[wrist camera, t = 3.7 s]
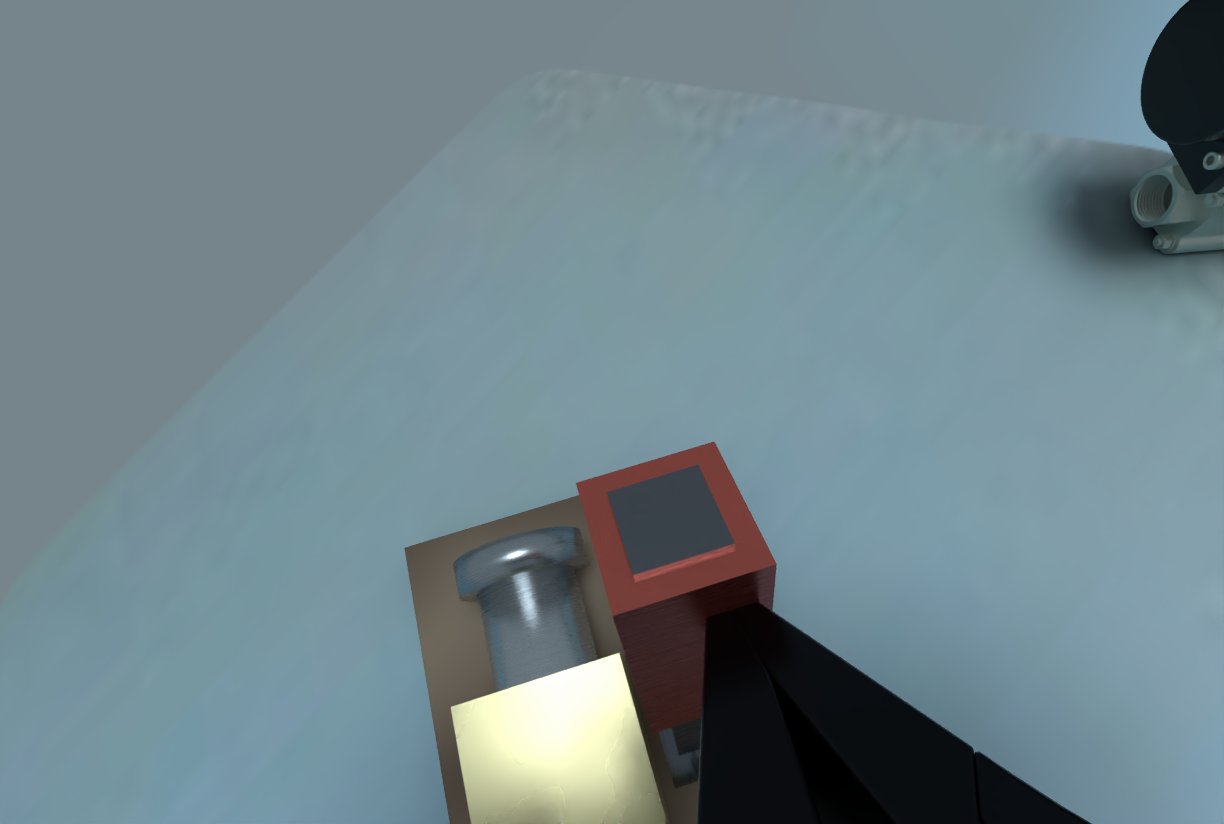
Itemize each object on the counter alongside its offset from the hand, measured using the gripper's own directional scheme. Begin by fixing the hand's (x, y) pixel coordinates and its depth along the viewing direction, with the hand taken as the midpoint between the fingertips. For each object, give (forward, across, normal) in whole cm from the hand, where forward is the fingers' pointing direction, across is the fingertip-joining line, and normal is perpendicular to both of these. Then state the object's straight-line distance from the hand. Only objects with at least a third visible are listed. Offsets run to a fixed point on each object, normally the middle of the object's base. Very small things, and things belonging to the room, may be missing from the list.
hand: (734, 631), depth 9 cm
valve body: (+6, +4, +10) cm, 13 cm away
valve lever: (+5, +1, +8) cm, 9 cm away
